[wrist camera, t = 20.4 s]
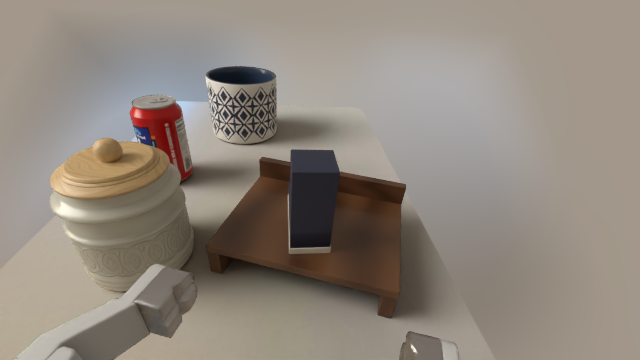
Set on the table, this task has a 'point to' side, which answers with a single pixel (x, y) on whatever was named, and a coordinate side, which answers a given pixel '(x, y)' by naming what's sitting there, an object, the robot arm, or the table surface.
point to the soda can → (163, 129)
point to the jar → (122, 211)
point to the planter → (242, 103)
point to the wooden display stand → (346, 242)
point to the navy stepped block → (312, 200)
